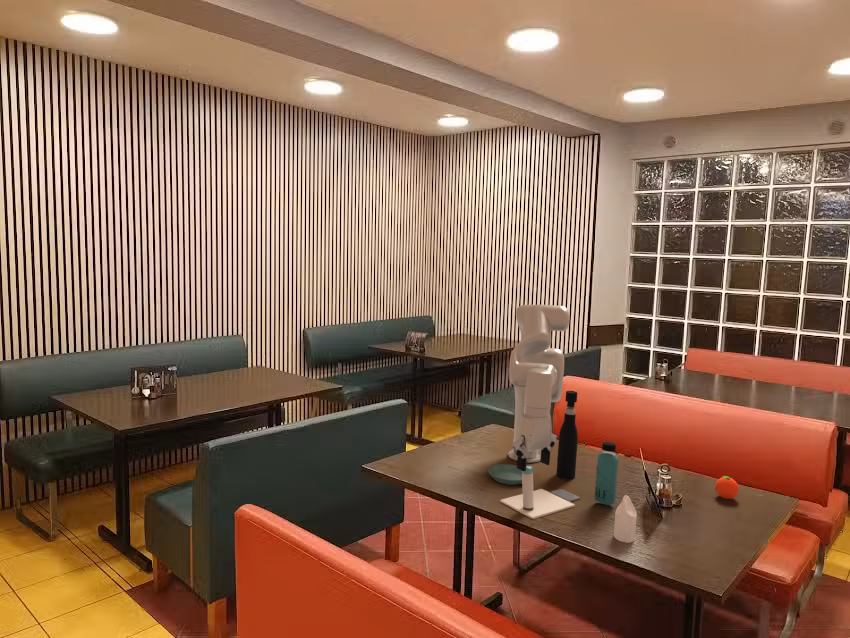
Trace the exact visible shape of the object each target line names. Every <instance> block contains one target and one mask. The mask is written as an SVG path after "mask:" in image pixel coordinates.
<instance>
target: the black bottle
mask: <svg viewBox="0 0 850 638" xmlns="http://www.w3.org/2000/svg"><path fill="white" fill-rule="evenodd" d="M565 402H566V408H565V412H564V417H563V423H562V425H561V428H560V431H559V433H558V448H557V460H556V477H558V478H559V479H561V480H562V479H563V480H568V481H569V480H574V479H575V478H576V468H577V454H578V444H579V442H578V441H579V440H578V439H579V434H578V428H577V424H576V416H577V415H576V409H575V404H576V403H577V402H578V391H575V390H566V391H565Z"/></svg>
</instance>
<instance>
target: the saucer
mask: <svg viewBox="0 0 850 638" xmlns="http://www.w3.org/2000/svg"><path fill="white" fill-rule="evenodd" d="M488 473H489V475H490V476H491V478H492V479H494V481H496V482H498V483H500V484H504V485H511V486H512V485H513V486H518V485H522V471H521V470H519V469H518V468H517V464H516V465H515V464H507V463H506V464H505V463H504V464H495V465H493V466H491V467H489V468H488Z"/></svg>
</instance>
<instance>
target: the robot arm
mask: <svg viewBox="0 0 850 638" xmlns="http://www.w3.org/2000/svg"><path fill="white" fill-rule="evenodd" d="M515 318H516V322H517V325H518V328H519V331H520V334H521V340H520V341H519V342H518V343H517V344H516V345H515V347H513V349H512V351H511V353H510V357H509V367H508V368H509V369H508V377H509V382H510V383H511V385H513V386H514V400H515V401H514V402H515V403H514V404H515V408H514V409H515V410H514V429H513V443H512V444H511V447H512V449H511V450H510V451H509V452H508V453H507V455H508V458H510V459H511V460H513V461H516V466H517V468H518V469H519V470H521V471H526V466H527V463H530V464H531V463H538V462H541V463H542V464H544V465H546V466H550V464H551V462H550V461H551V453H552V452H553V447H554V446H555V442H556V440H557V438H558V436H557V435H556V434H554V433H553V432H552V426H553V425H552V416H551V409H552V405H551V404H552V403H557V402H559V401H560V400H561V398H562V395H563V387H564V386H563V385H564V375H565V374H564V373H565V357H564V353H563V351H562V350H561V349H559V348H556V347H555V348H553V347H551V345H552V332H553V331H554V332H566V331H567V330H568V328H569V326H570V312H569V310H568V308H567V307H566V306H563V305H555V304H554V305H553V304H552V305H550V304H522V305H520V306H517V308H516V311H515Z"/></svg>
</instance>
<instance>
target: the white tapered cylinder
mask: <svg viewBox="0 0 850 638" xmlns="http://www.w3.org/2000/svg"><path fill="white" fill-rule="evenodd" d="M637 514H638V513H637V510H636V508H635V506H634V504H633V502H632V500H631V498H630V496H628V495H626V494H625V495H624V496H623V497H622V500H621V502H620V503H619V505H618V506H617V508H616V510H615V513H614V527H613V528H614V530H613V535H614V536H613V537H614V539H616V540H617V541H619V542H621V543H624V544H626V543H627V544H628V543H633V542H635V539H636V529H637V516H638V515H637Z"/></svg>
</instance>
